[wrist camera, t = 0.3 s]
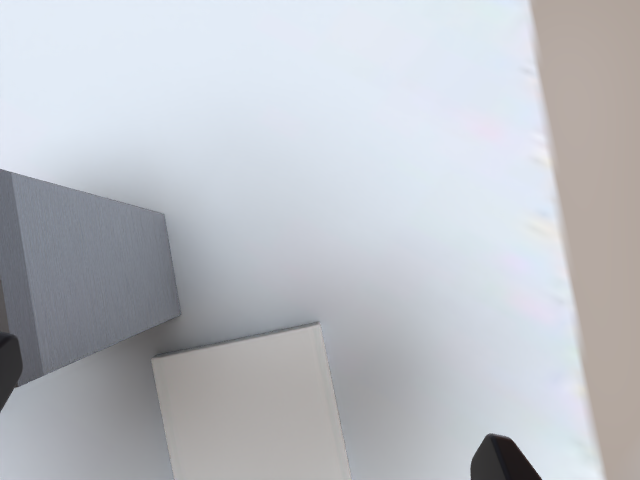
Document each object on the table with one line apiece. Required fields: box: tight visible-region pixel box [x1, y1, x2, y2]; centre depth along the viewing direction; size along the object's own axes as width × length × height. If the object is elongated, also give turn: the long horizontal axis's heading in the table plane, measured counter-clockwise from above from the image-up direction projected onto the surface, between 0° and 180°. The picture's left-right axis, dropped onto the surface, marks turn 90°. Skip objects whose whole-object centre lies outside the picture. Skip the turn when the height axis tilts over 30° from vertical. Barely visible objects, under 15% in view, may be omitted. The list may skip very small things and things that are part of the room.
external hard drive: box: [151, 322, 352, 480], centre depth 23 cm, size 2×8×12 cm
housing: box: [0, 169, 181, 388], centre depth 17 cm, size 5×5×13 cm
